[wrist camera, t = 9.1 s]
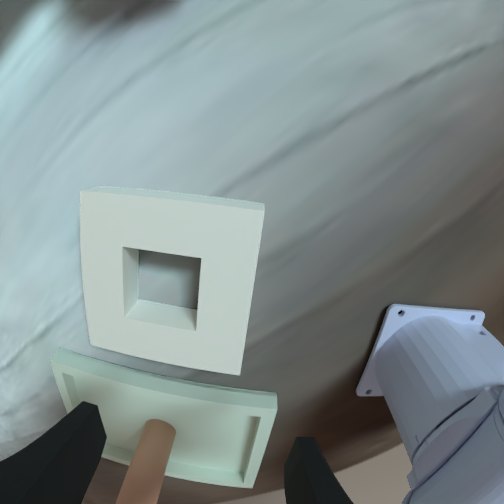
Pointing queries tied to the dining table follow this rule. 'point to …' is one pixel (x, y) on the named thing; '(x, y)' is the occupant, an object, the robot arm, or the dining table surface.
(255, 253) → the socket block
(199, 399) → the tray
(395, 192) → the dining table surface
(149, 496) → the dowel
